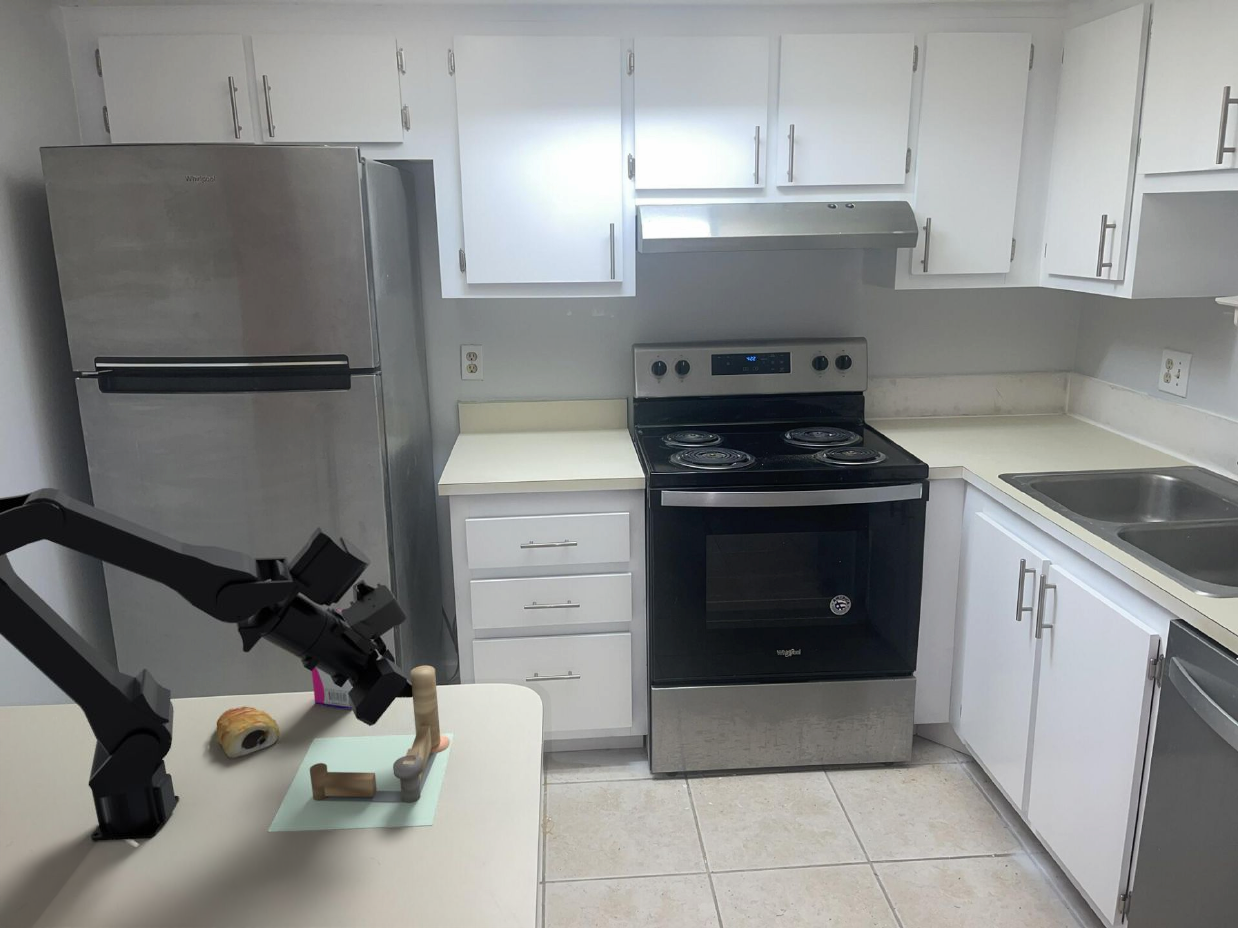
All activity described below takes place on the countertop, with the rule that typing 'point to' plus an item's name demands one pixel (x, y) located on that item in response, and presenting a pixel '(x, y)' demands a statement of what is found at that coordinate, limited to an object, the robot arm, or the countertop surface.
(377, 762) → the card
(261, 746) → the pastry
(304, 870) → the countertop surface
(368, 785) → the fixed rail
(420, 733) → the rail
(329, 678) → the supplement box
